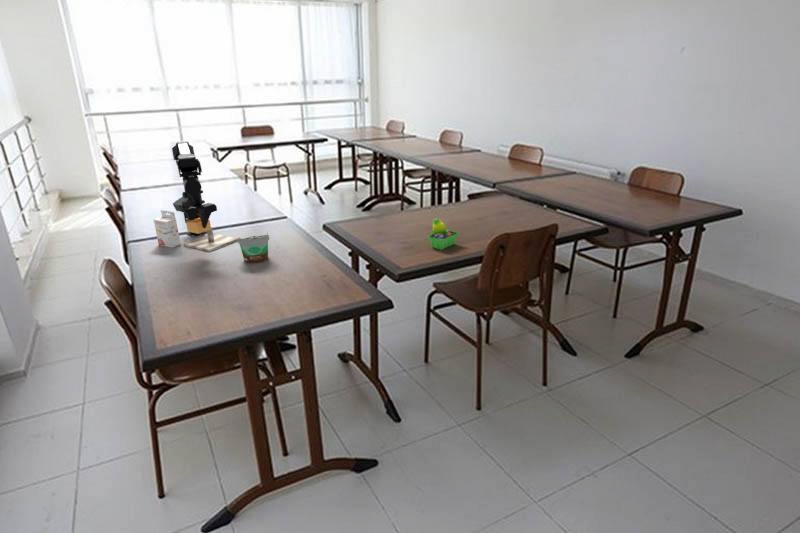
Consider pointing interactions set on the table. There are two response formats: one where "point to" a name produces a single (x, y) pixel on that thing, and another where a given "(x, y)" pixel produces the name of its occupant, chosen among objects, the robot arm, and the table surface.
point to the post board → (211, 241)
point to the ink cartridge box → (167, 229)
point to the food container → (254, 248)
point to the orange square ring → (197, 226)
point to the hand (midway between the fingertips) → (198, 226)
